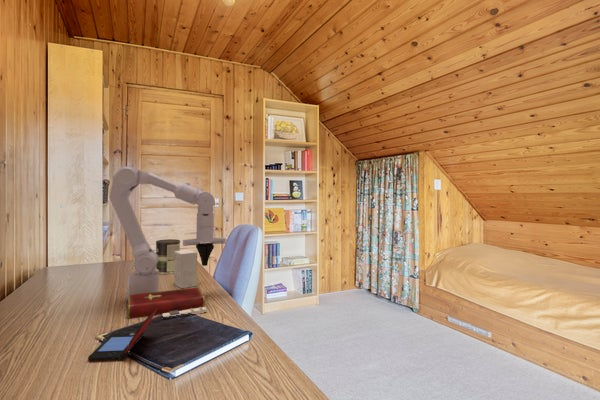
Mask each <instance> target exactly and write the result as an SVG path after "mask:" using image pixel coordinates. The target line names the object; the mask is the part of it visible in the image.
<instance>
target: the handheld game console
mask: <svg viewBox="0 0 600 400" xmlns="http://www.w3.org/2000/svg"><path fill="white" fill-rule="evenodd" d="M156 311H157V308H155V310H154V311H153V312H152V313H151V314H150V315H149V316H147V318H146V319H145V320H144V321H143V322H142V323H141V324H140V326H139V327H138V328H137V329H136V331H135V332H117V333H113V334H110V335H109V336H108V337H107V338H106V339H105V340H104V341H103V342H102V343H100V345H99V346H97V348H96V349H95V350H93V352H92V353H90V354H89V355H88V357H87V362H90V363H95V362H97V363H98V362H100V361H101V362H119V361H121V362H123V361H125V360H126V359H127V358H128V356H129V355H128V351H129V350H130V348H131V347H132V346H133V345H134V344H135V343H136V341H137V340H139V338H140V337H141V336H142V335H143V334H144V335H145V333H144V332H145V330H146V329H147V328H148V325H149V324H150V322H151V321H152V319H153V318H154V316H155V315H154V314H155V313H156Z"/></svg>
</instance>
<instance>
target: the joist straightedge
mask: <svg viewBox="0 0 600 400" xmlns="http://www.w3.org/2000/svg"><path fill="white" fill-rule="evenodd" d="M204 312H208V309H207V307H206V306H205V307H199V308H195V309H192V308H190V309H188V310H182V311H178V310H176V311H169V313H163V314H161V316H163V317H169V316H176V315H181V314H188V313H192V314H196V315H201V314H200V313H202V314H205V313H204Z"/></svg>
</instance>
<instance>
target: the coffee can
mask: <svg viewBox="0 0 600 400" xmlns="http://www.w3.org/2000/svg"><path fill="white" fill-rule="evenodd" d="M180 243H181V240H180V239H176V238H175V239H172V238H171V239H167V238H165V239H159V240H155V253H156V254H157V255H158V263H157V264H156V268H157V269H158V270H159V275H171V274H174V251H181V250H180V249H181V248H180V246H181V244H180Z"/></svg>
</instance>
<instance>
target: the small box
mask: <svg viewBox="0 0 600 400" xmlns="http://www.w3.org/2000/svg"><path fill="white" fill-rule="evenodd" d="M173 285H175V286H176V287H178V288H179V289H188V288H194V287H197V285H198V251H194V250H191V249H185V250H180V251H174V273H173Z"/></svg>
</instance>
